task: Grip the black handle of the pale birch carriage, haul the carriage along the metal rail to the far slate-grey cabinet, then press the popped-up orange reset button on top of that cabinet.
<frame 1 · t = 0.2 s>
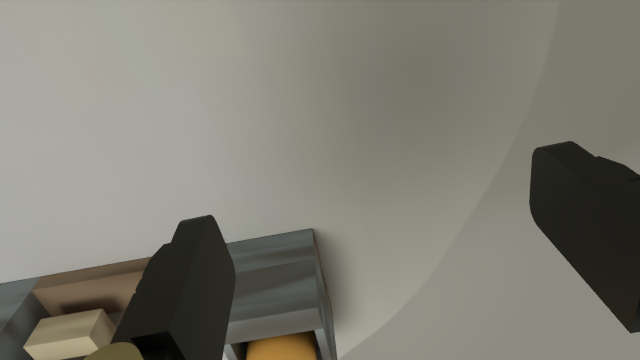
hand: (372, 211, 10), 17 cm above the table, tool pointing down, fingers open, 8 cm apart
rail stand: (167, 299, 36), on the table
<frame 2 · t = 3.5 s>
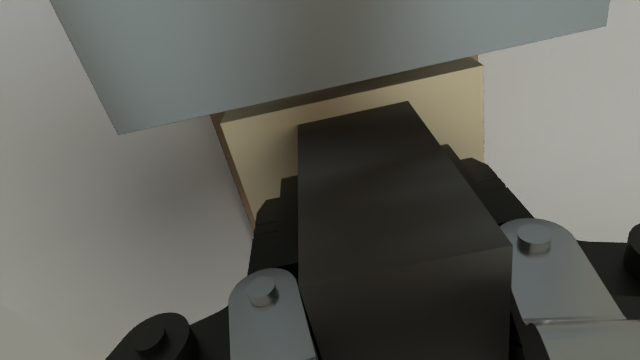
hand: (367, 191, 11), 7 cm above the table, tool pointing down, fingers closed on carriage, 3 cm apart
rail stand: (364, 213, 20), on the table
carriage: (373, 210, 10), point 8 cm above the table, slide at 0.0 cm, touching gripper
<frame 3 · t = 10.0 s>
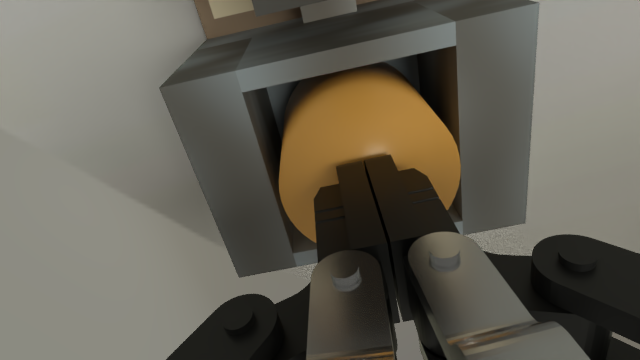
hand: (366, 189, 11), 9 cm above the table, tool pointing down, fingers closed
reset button: (359, 150, 13), point 7 cm above the table, slide at 0.8 cm, touching gripper
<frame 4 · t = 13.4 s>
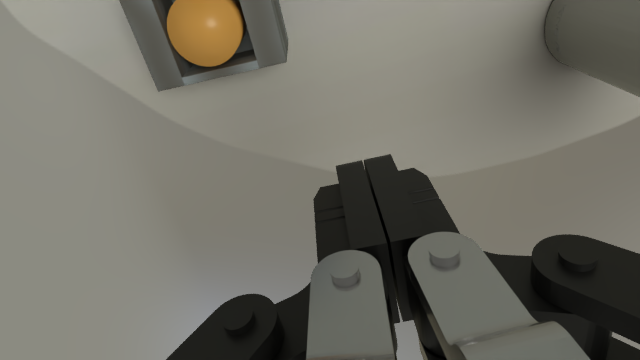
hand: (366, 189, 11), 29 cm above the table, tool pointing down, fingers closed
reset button: (209, 25, 30), point 6 cm above the table, slide at 1.4 cm
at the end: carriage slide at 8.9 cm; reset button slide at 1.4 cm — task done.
